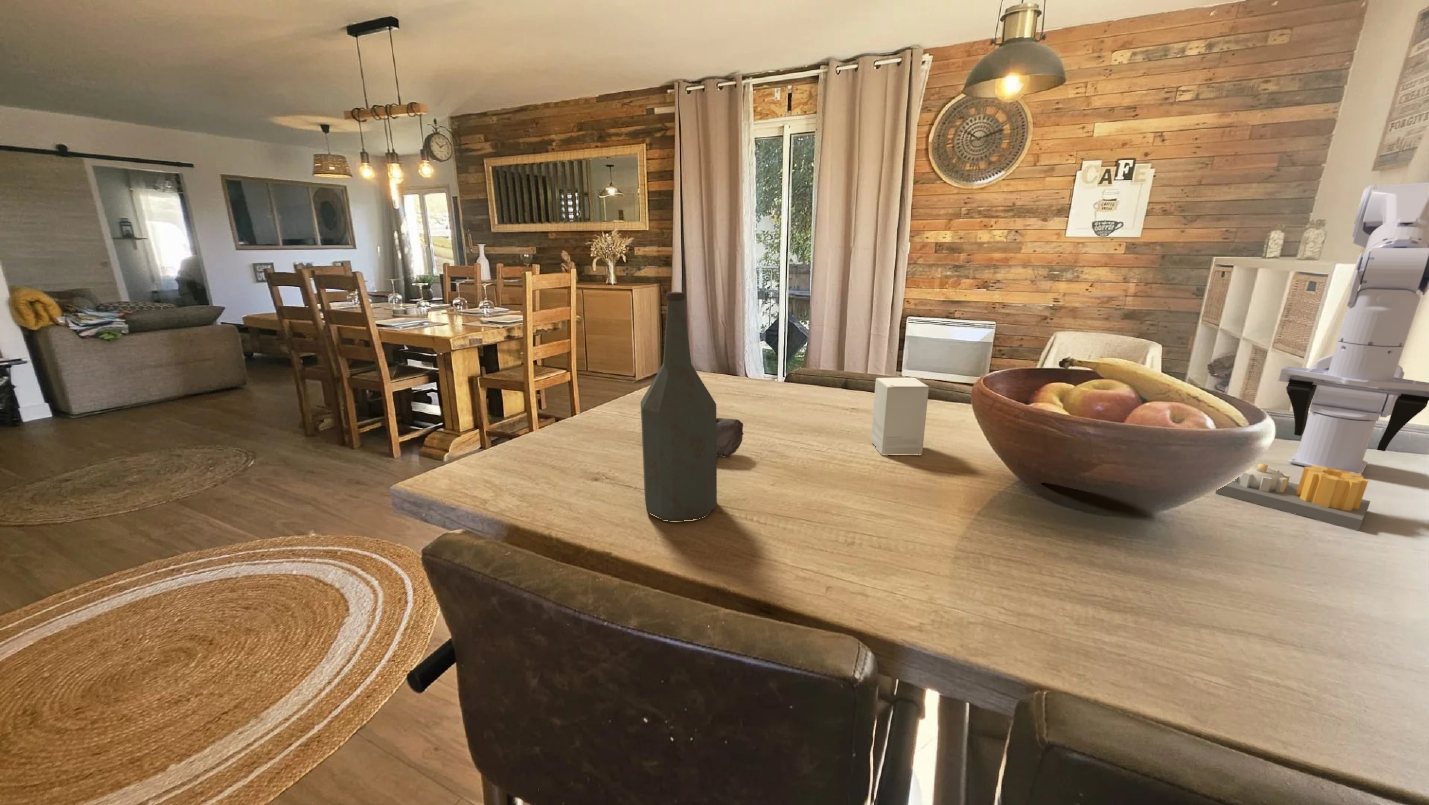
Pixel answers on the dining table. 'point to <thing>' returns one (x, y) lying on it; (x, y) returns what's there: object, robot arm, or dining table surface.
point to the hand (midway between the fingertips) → (1338, 441)
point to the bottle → (678, 430)
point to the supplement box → (899, 415)
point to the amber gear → (1332, 487)
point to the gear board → (1287, 497)
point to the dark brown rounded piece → (728, 435)
